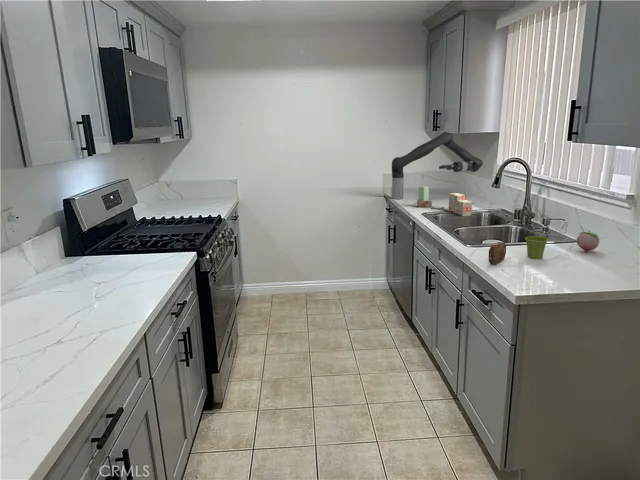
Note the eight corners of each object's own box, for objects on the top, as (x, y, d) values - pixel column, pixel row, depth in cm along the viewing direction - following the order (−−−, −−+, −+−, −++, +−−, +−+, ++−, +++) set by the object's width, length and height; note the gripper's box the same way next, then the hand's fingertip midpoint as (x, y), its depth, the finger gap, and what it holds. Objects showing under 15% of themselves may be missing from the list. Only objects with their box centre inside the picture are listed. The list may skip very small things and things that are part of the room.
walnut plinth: (419, 208, 320) (419, 201, 319) (417, 206, 329) (417, 199, 327) (431, 208, 319) (431, 201, 318) (429, 205, 328) (429, 199, 327)
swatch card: (431, 208, 315) (431, 207, 315) (431, 207, 321) (432, 206, 321) (444, 209, 312) (444, 208, 312) (444, 207, 318) (444, 206, 318)
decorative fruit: (601, 252, 205) (604, 231, 202) (592, 255, 201) (595, 234, 198) (581, 247, 213) (583, 227, 210) (572, 250, 208) (574, 230, 206)
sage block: (423, 201, 319) (423, 187, 317) (418, 200, 323) (418, 186, 321) (428, 200, 322) (428, 186, 319) (423, 199, 326) (423, 186, 323)
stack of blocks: (471, 215, 289) (472, 197, 286) (462, 216, 288) (463, 197, 285) (456, 209, 310) (457, 192, 307) (448, 210, 309) (449, 193, 306)
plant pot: (518, 255, 204) (520, 237, 202) (536, 253, 206) (538, 235, 204) (532, 261, 195) (534, 242, 193) (550, 258, 197) (553, 240, 195)
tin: (493, 266, 189) (495, 248, 187) (486, 265, 191) (487, 246, 189) (506, 258, 200) (507, 240, 198) (499, 257, 202) (500, 239, 200)
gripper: (453, 161, 339) (437, 162, 332) (467, 162, 327) (450, 163, 320) (453, 170, 341) (436, 172, 334) (466, 172, 329) (449, 173, 322)
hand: (443, 167), depth 327 cm, fingers open, 8 cm apart
